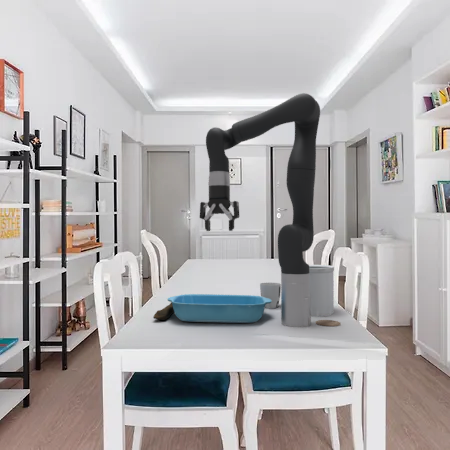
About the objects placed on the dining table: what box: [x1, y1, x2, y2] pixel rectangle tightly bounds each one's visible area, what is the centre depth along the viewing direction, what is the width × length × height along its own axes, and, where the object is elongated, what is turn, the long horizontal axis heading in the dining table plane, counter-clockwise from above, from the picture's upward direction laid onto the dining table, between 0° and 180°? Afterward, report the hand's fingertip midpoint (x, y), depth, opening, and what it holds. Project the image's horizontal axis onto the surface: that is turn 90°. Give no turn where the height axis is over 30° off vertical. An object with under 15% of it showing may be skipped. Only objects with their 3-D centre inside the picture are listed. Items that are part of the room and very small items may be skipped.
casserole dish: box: [167, 293, 272, 324], centre depth 149 cm, size 37×22×7 cm, turn 87°
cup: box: [259, 282, 281, 309], centre depth 164 cm, size 8×8×10 cm
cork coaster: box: [315, 319, 341, 327], centre depth 139 cm, size 8×8×1 cm
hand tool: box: [152, 302, 175, 321], centre depth 153 cm, size 19×4×5 cm
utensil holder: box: [308, 264, 335, 317], centre depth 156 cm, size 15×15×18 cm
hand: (219, 230), depth 149 cm, fingers open, 8 cm apart
